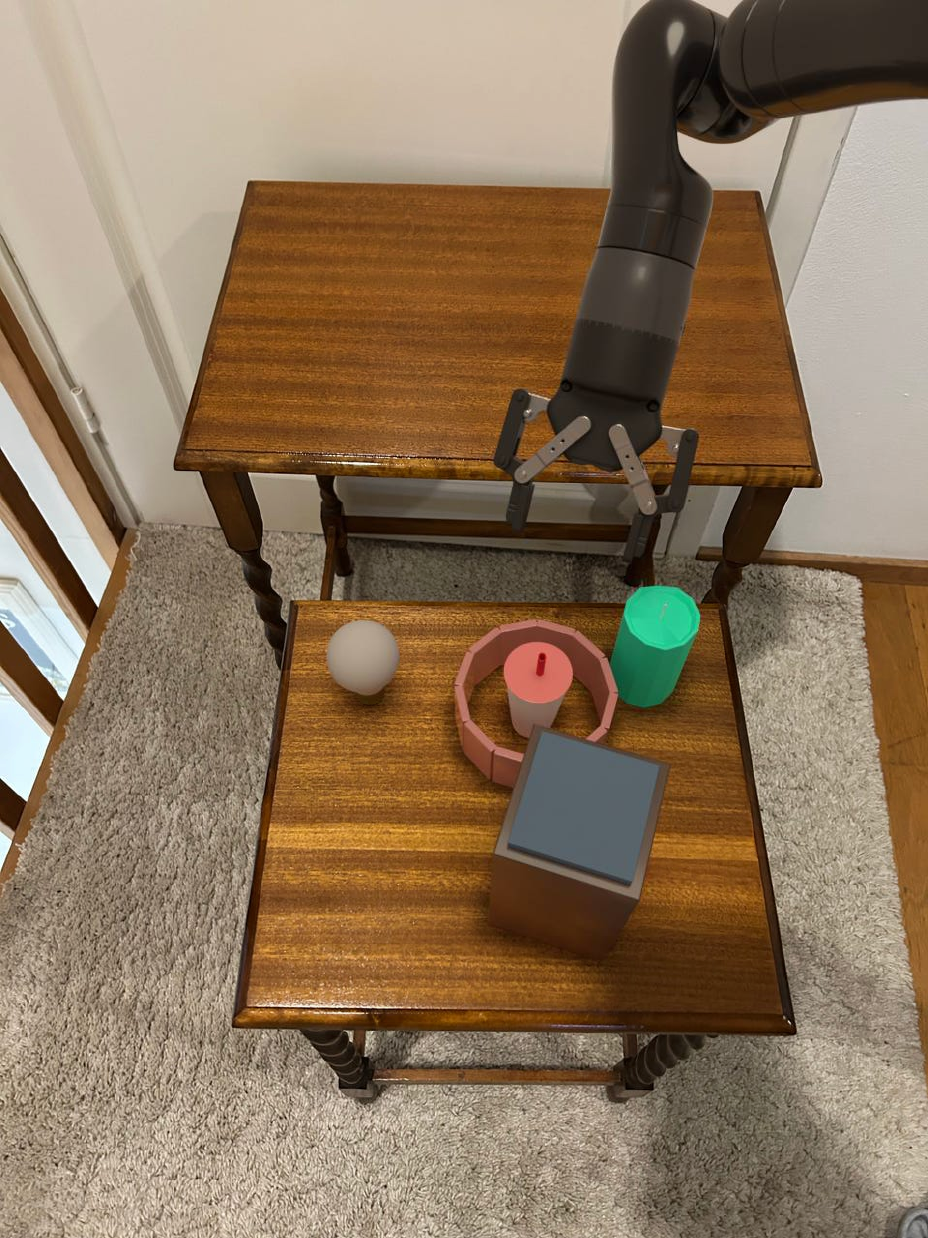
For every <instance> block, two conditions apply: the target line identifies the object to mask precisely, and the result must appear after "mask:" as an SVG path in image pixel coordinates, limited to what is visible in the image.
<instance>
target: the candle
mask: <svg viewBox="0 0 928 1238" xmlns="http://www.w3.org/2000/svg"><path fill="white" fill-rule="evenodd" d="M700 621H701V613H700V611H699V609H698V607H697V604H696V602H695V599H694V598H693V597H692V596H690V595H689V594H687V593H686V592H685V591H683V590H682V589H680V588H679V587H677V586H665V585H649V586H641V587H639V588H638V589H637V590H636V591H635V592H634V593H633V594H632V595H631V596H630V597H629V598H628V599H626V603H625V605H624V610H623V614H622V618H621V621H620V625H619V629H618V632H617V636H616V640H615V643H614V647H613V651H612V654H611V657H610V662H609V665H610V668H611V671H612V674H613V677H614V680H615V683H616V686H617V689H618V693H617V694H618V698H619V699H620V700H622V701H623V702H624V703H625V704H627V705H632V706H635V707H639V708H643V709H645V708H649V707H654V706H657V705H661V704H662V703H664V702H665V700H667V699H668V698H669V697H670V695H671V694H673V692H674V689H675V688H676V685H677V683H678V680H679V678H680V675H681V673H682V670H683V668H684V666H685V663H686V661H687V658H688V656H689V653H690V651H691V649H692V646H693V644H694V642H695V640H696V637H697V635H698V632H699V628H700V627H699V626H700Z"/></svg>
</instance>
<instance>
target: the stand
mask: <svg viewBox="0 0 928 1238" xmlns="http://www.w3.org/2000/svg"><path fill="white" fill-rule="evenodd" d="M542 731H544V732H547V733H550V734H554V735H557V736H561V737H564V738H567V739H571V740H574V741H578V742H581V743H584V744H588V745H591V746H595V747H598V748H601V749H605V750H608V751H612V752H615V753H618V754H622V755H625V756H629V757H632V758H635V759H639V760H642V761H646V762H649V763H652V764H656V765H659V766H660V768H659V772H658V776H657V781H656V785H655V789H654V793H653V798H652V802H651V806H650V810H649V815H648V819H647V823H646V828H645V832H644V836H643V840H642V845H641V849H640V853H639V857H638V862H637V866H636V870H635V875H634V879H633V882H632V884H631V885H628V884H625V883H621V882H618V881H615V880H612V879H609V878H606V877H603V876H599V875H596V874H593V873H590V872H587V871H584V870H580V869H577V868H574V867H571V866H568V865H565V864H562V863H558V862H555V861H552V860H549V859H546V858H543V857H540V856H536V855H533V854H530V853H527V852H524V851H521V850H517V849H514V848H511V847H508V846H507V844H508V839H509V836H510V833H511V830H512V826H513V823H514V820H515V817H516V813H517V810H518V807H519V804H520V801H521V797H522V794H523V791H524V788H525V784H526V781H527V778H528V775H529V771H530V768H531V765H532V762H533V759H534V755H535V752H536V749H537V746H538V742H539V739H540V736H541V733H542ZM523 754H524V756H523V759H522V762H521V766H520V769H519V772H518V775H517V778H516V781H515V785H514V788H512V791H511V793H510V798H509V801H508V803H507V807H506V810H505V814H504V817H503V820H502V823H501V825H500V829H499V832H498V836H497V839H496V841H495V845H494V848H493V851H492V861H491V873H490V877H491V878H490V889H489V903H488V917H487V920H488V921H487V925H489V926H492V927H495V928H498V929H501V930H503V931H507V932H509V933H512V934H515V935H518V936H521V937H525V938H527V939H531V940H533V941H537V942H540V943H541V944H545V945H548V946H551V947H555V948H558V949H561V950H563V951H566V952H569V953H573V954H575V955H578V956H582V957H585V958H587V959H590V960H594V961H595V962H596V961H597V962H600V963H603V962H604V960H605V959H606V957H607V955H608V954H609V951H610V950H611V948H612V947H613V945H614V944H615V942H616V940H617V939H618V937H619V935H620V934H621V932H622V930H623V929H624V927H625V925H627V922H628V921H629V919H630V917H631V915H632V914H633V912H634V910H635V909H636V907H637V906H638V904H639V903H640V900H641V897H642V893H643V888H644V884H645V879H646V875H647V870H648V866H649V861H650V858H651V854H652V849H653V843H654V840H655V835H656V832H657V827H658V823H659V817H660V815H661V809H662V804H663V801H664V797H665V792H666V788H667V783H668V779H669V776H670V775H669V774H670V770H671V764H670V763H669V762H666V761H662V760H658V759H655V758H652V757H649V756H644V755H641V754H639V753H634V752H631V751H628V750H624V749H622V748H617V747H614V746H611V745H607V744H601V743H597V742H594V741H590V740H587V739H586V738H583V737H581V736H577V735H573V734H570V733H566V732H563V731H560V730H556V729H552V728H551V727H550V728H546V727H543V726H539V725H536V724H534V725H533V728H532V731H531V734H530V737H529V738H528V740H527V743H526V746H525V750H524V753H523Z"/></svg>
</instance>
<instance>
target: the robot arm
mask: <svg viewBox="0 0 928 1238" xmlns="http://www.w3.org/2000/svg"><path fill="white" fill-rule="evenodd" d="M611 77H612V78H611V164H610V165H611V168H610V169H611V173H610V175H611V176H610V179H611V180H610V192H609V196H608V201H607V205H606V210H605V213H604V215H603V216H604V217H603V221H602V225H601V230H600V233H599V236H598V242H597V245H596V250H595V253H594V256H593V259H592V262H591V265H590V267H589V270H588V272H587V275H586V278H585V280H584V284H583V288H582V292H581V295H580V299H579V303H578V307H577V312H576V317H575V320H574V324H573V329H572V332H571V337H570V340H569V345H568V347H567V348H568V349H567V353H566V357H565V361H564V366H563V370H562V373H561V377H560V382H559V386H558V388H557V390H556V392H555V394H554V395H553V396H552V397H551V398H549V397H545V396H543V395H539V394H535V393H533V392H532V391H531V390H530V389H527V388H516V389H515V390H514V391H513V392H512V394H511V397H510V401H509V404H508V407H507V411H506V414H505V417H504V421H503V425H502V428H501V431H500V435H499V438H498V441H497V445H496V448H495V452H494V455H493V459H492V460H493V462H492V463H493V465H494V466H495V468H497V469H499V470H501V471H503V472H504V473H505V474H507V475H509V476H510V477H511V480H512V488H511V492H510V496H509V499H508V504H507V508H506V513H505V521H506V524H509V525H511V528H510V533H513V534H516V535H521V534H523V533H524V531H525V529H526V524H527V521H528V516H529V512H530V509H531V505H532V504H531V503H532V500H533V496H534V491H535V487H536V484H534V479H535V478H536V477H538V475H540V474H541V473H542V472H543V471H545V470H546V469H547V468H548V467H550V466H551V465H553V463H555V462H556V461H557V460H559V458H561V457H562V456H563V457H564V458H565V459H566V460H567V461H568V462H570V464H574V465H578V466H593V467H595V468H596V469H598V470H600V471H603V472H607V473H611V474H612V473H615V472H617V473H618V472H621V471H623V473H624V474H625V477H626V479H627V481H628V484H629V486H630V488H631V490H632V492H633V494H634V497H635V500H636V502H637V504H638V509H637V510H635V512H634V515H633V518H632V521H631V525H630V528H629V533H628V537H627V539H626V543H625V547H624V551H623V555H622V558H621V562H622V563H626V564H629V565H630V564H631V565H632V562H633V558H634V557H635V558H638V559H640V558H641V557H642V555H643V554H645V550H646V548H647V547H646V546H647V544H648V539H649V536H650V532H651V528H652V526H653V521H654V519H655V518H656V517H657V516H658V515H660V514H668V513H673V514H677V513H680V512H682V510H683V509H684V507H685V503H686V499H687V494H688V489H689V484H690V481H691V475H692V472H693V466H694V462H695V458H696V453H697V450H698V444H699V439H700V435H699V432H698V430H697V429H695V428H693V427H688V428H681V427H674V426H670V425H664V424H663V422H662V415H661V413H662V409H663V405H664V402H665V397H666V394H667V390H668V386H669V382H670V379H671V375H672V372H673V368H674V364H675V361H676V358H677V353H678V349H679V345H680V342H681V338H682V336H683V335H684V332H685V329H686V321H687V316H688V313H689V309H690V306H691V305H690V304H691V299H692V291H693V285H694V284H693V283H694V278H695V274H696V269H697V267H698V266H697V265H698V263H699V258H700V255H701V251H702V247H703V244H704V241H705V236H706V233H707V229H708V228H707V227H708V225H709V222H710V218H711V214H712V209H713V204H714V191H713V188H712V185H711V183H709V181H708V179H706V178H705V176H703V175H702V174H701V173H700V172H698V171H697V170H696V169H695V168H693V166H691V165H690V164H689V163H688V162H687V161H686V159H685V158H684V156H683V155H682V153H681V150H680V145H679V138H678V137H679V136H678V133H680V134H682V135H684V136H687V137H688V138H692V139H694V140H697V141H700V142H703V143H707V144H715V145H729V144H737V143H741V142H743V141H745V140H747V139H750V138H751V137H753V136H755V135H756V134H758V133H759V132H762V131H763V130H765V129H768V128H769V127H771V126H772V125H774V124H775V123H777V122H778V121H780V120H782V119H786V118H787V119H788V118H796V117H802V116H807V115H815V114H821V113H827V112H833V111H839V110H844V109H851V108H857V107H862V106H868V105H876V104H883V103H892V102H893V103H894V102H904V101H922V100H923V101H924V100H925V101H926V100H928V0H741V1H740V2H739V3H738V4H737V5H736V6H735V7H734V8H733V10H732V11H731V13H730V14H729V15H728V17H727V16H725V15H723V14H721V13H719V12H716V11H715V10H713V9H710V8H708V7H706V6H704V5H703V4H700V3H699V2H696V1H695V0H648V1H647V2H646V3H644V4H643V5H642V6H641V7H640V8H639V9H638V10H637V11H636V13H635V14H633V16H632V17H631V19H630V21H629V22H628V23H627V26H626V27H625V29H624V31H623V33H622V35H621V37H620V40H619V43H618V46H617V50H616V54H615V57H614V61H613V68H612V76H611ZM543 412H546V416H547V419H548V421H549V423H550V426H551V429H552V432H553V434H554V437H553V438H551V440H549V441H548V442H547V443H546V444H544V445H543V446H542V447H540V449H538V450H537V451H536V452H535V453H534V454H533V455H532V456H531V457H529V458H528V459H527V460H526V461H523V460H522V459H521V458H519V457H517V455H518V452H519V448H520V444H521V441H522V438H523V435H524V431H525V427H526V424H527V423H533V422H535V421H537V419H538V417H539V415H540V413H543ZM660 439H661V440H663V441H664V442H665V443H666V445H667V449H666V451H667V454H668V455H669V456H670V457H672V458H674V459H676V460H675V465H674V469H673V473H672V478H671V483H670V488H669V492H668V493H667V494H659V495H658V494H657V495H656V493H655V491H654V489H653V486H652V483H651V481H650V478H649V475H648V473H647V470H646V468H645V465H644V463H643V461H642V458H641V456H642V455H643V454H644V453H645V452H646V451H648V450H649V449H650V448H651V447H653V445H655V444H656V443H658V441H659V440H660Z"/></svg>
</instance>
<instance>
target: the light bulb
mask: <svg viewBox="0 0 928 1238" xmlns="http://www.w3.org/2000/svg"><path fill="white" fill-rule="evenodd" d="M400 658H401V654H400V648H399V643H398V642H397V640H396V637H395V636H394V635H393V633H392V632H391V631H390V630H389V628H387V627H385V626H384V625H383V624H381V623H379V622H376V621H374V620H369V619H358V620H353V621H350V622H348V623H345V624H344V625H342V626H341V627H340V628H338V630H337V631H335V632H334V634H333V635H332V637H330V640H329V642H328V645H327V647H326V665H327V668H328V671H329V673H330V675H331V677H332V679H333V680H334V681H335V682H336V683H337V684H338V685H340V686H341V687H342V688H344V689H345V690H347V691H350V692H353V693H354V694H355V697H356V699H357V700H358V701H359V702H360V703H362V704H365V705H374V704H377V703H379V702H380V701H381V700H382V699H383V698H384V697H385V695H386V686H387V685H388V684H389V683H390V682H391V681H392V680H393V678H394V677H395V676H396V674H397V671H398V669H399V665H400V660H401V659H400Z"/></svg>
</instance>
